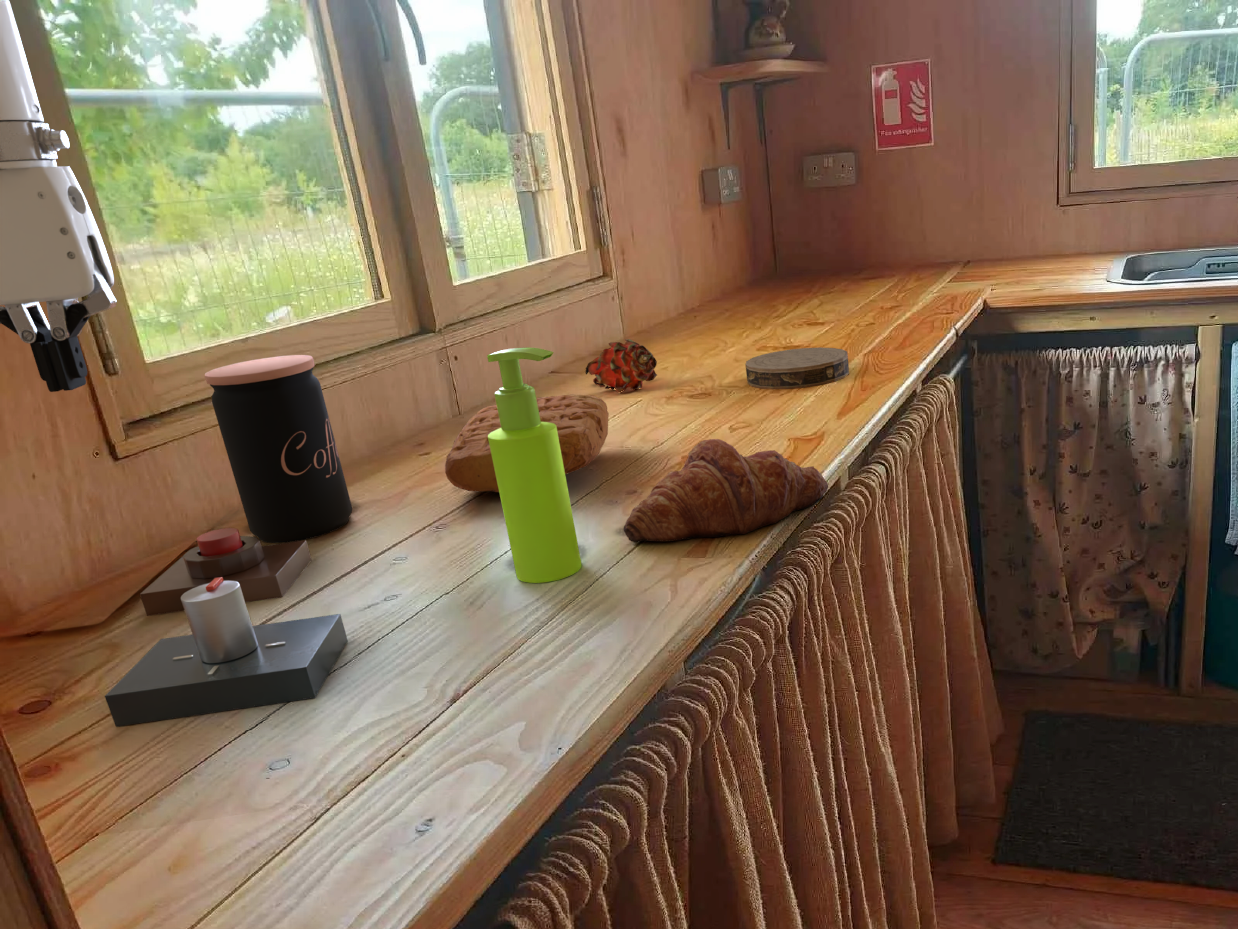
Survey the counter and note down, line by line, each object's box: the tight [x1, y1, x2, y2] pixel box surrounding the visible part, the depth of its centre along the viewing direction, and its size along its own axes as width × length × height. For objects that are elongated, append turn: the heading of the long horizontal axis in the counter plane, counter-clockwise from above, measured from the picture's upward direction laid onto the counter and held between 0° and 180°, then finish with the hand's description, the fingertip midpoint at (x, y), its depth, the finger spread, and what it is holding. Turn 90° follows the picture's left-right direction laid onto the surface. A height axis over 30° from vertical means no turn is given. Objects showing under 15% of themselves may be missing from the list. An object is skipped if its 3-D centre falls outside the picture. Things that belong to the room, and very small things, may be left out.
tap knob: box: [181, 577, 258, 663], centre depth 81 cm, size 4×4×5 cm
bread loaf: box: [444, 393, 610, 493], centre depth 128 cm, size 22×17×8 cm
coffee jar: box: [204, 354, 353, 544], centre depth 116 cm, size 11×11×18 cm
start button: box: [196, 527, 243, 556], centre depth 102 cm, size 4×4×2 cm
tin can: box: [744, 347, 850, 390], centre depth 168 cm, size 16×16×3 cm
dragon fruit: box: [583, 338, 658, 393], centre depth 172 cm, size 8×8×12 cm
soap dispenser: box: [486, 346, 582, 584], centre depth 95 cm, size 6×7×20 cm
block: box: [139, 535, 312, 617], centre depth 103 cm, size 12×10×4 cm
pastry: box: [623, 438, 829, 544], centre depth 106 cm, size 17×15×8 cm
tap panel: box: [104, 613, 349, 728], centre depth 83 cm, size 14×10×3 cm
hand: (68, 387), depth 90 cm, fingers closed
